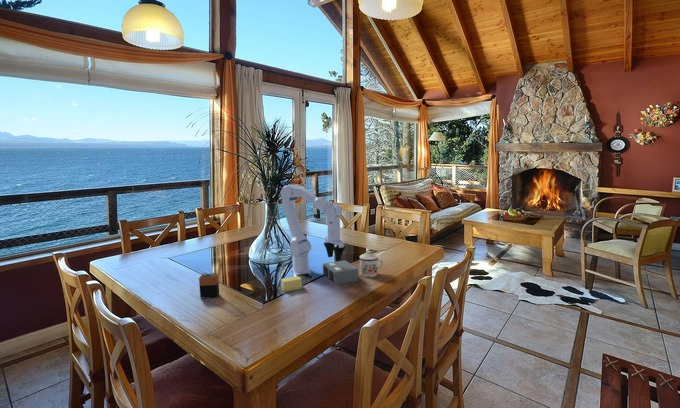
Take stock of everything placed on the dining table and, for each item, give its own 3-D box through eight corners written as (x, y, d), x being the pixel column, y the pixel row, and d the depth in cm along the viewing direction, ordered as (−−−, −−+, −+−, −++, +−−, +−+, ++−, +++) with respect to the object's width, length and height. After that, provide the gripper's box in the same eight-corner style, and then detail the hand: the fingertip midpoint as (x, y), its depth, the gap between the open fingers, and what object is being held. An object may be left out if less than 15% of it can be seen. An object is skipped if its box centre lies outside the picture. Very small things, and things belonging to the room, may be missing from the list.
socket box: (322, 275, 168) (322, 263, 167) (345, 271, 173) (345, 259, 172) (334, 285, 155) (334, 272, 155) (358, 280, 160) (358, 268, 159)
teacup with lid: (362, 278, 163) (362, 254, 162) (357, 272, 172) (357, 249, 170) (386, 276, 166) (386, 252, 164) (379, 270, 175) (380, 247, 173)
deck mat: (276, 288, 152) (276, 287, 152) (300, 284, 157) (300, 283, 157) (281, 295, 145) (281, 294, 145) (306, 290, 150) (306, 289, 150)
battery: (203, 294, 147) (201, 272, 145) (219, 293, 147) (218, 271, 146) (200, 298, 142) (198, 275, 141) (217, 297, 143) (215, 274, 142)
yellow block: (281, 288, 151) (281, 278, 150) (298, 285, 154) (298, 275, 154) (283, 291, 147) (283, 281, 147) (301, 288, 151) (301, 278, 150)
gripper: (319, 228, 164) (319, 256, 166) (333, 234, 151) (334, 264, 153) (332, 227, 167) (332, 254, 169) (347, 233, 155) (347, 262, 157)
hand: (334, 259), depth 161 cm, fingers open, 7 cm apart
